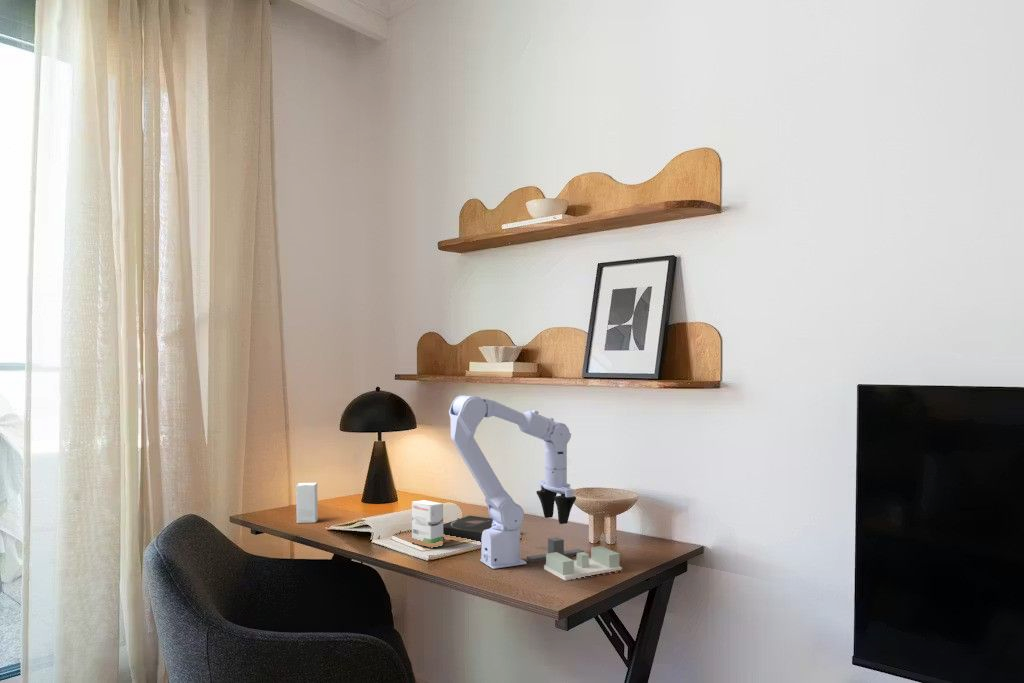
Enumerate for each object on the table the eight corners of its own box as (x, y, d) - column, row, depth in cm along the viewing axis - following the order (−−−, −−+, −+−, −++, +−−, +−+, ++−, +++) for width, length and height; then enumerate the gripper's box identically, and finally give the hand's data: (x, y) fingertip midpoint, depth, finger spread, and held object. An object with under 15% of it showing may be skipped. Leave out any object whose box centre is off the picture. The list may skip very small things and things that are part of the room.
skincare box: (318, 520, 220) (318, 482, 221) (315, 523, 216) (315, 484, 216) (298, 520, 219) (298, 482, 220) (295, 523, 215) (295, 484, 215)
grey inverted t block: (531, 564, 174) (532, 544, 174) (526, 561, 176) (526, 541, 176) (584, 555, 181) (584, 536, 181) (578, 553, 184) (578, 534, 184)
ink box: (444, 546, 189) (444, 502, 190) (430, 549, 186) (430, 505, 186) (424, 540, 195) (424, 498, 196) (410, 543, 191) (410, 501, 192)
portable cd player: (467, 528, 212) (467, 515, 212) (515, 535, 203) (515, 521, 203) (435, 540, 197) (435, 526, 198) (485, 548, 189) (485, 533, 189)
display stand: (565, 580, 159) (565, 563, 159) (544, 569, 168) (544, 552, 168) (621, 571, 166) (621, 554, 166) (598, 560, 175) (598, 544, 175)
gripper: (583, 470, 175) (583, 524, 174) (555, 463, 188) (555, 513, 187) (559, 472, 172) (559, 527, 171) (532, 465, 185) (532, 515, 184)
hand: (555, 520), depth 179 cm, fingers open, 7 cm apart
